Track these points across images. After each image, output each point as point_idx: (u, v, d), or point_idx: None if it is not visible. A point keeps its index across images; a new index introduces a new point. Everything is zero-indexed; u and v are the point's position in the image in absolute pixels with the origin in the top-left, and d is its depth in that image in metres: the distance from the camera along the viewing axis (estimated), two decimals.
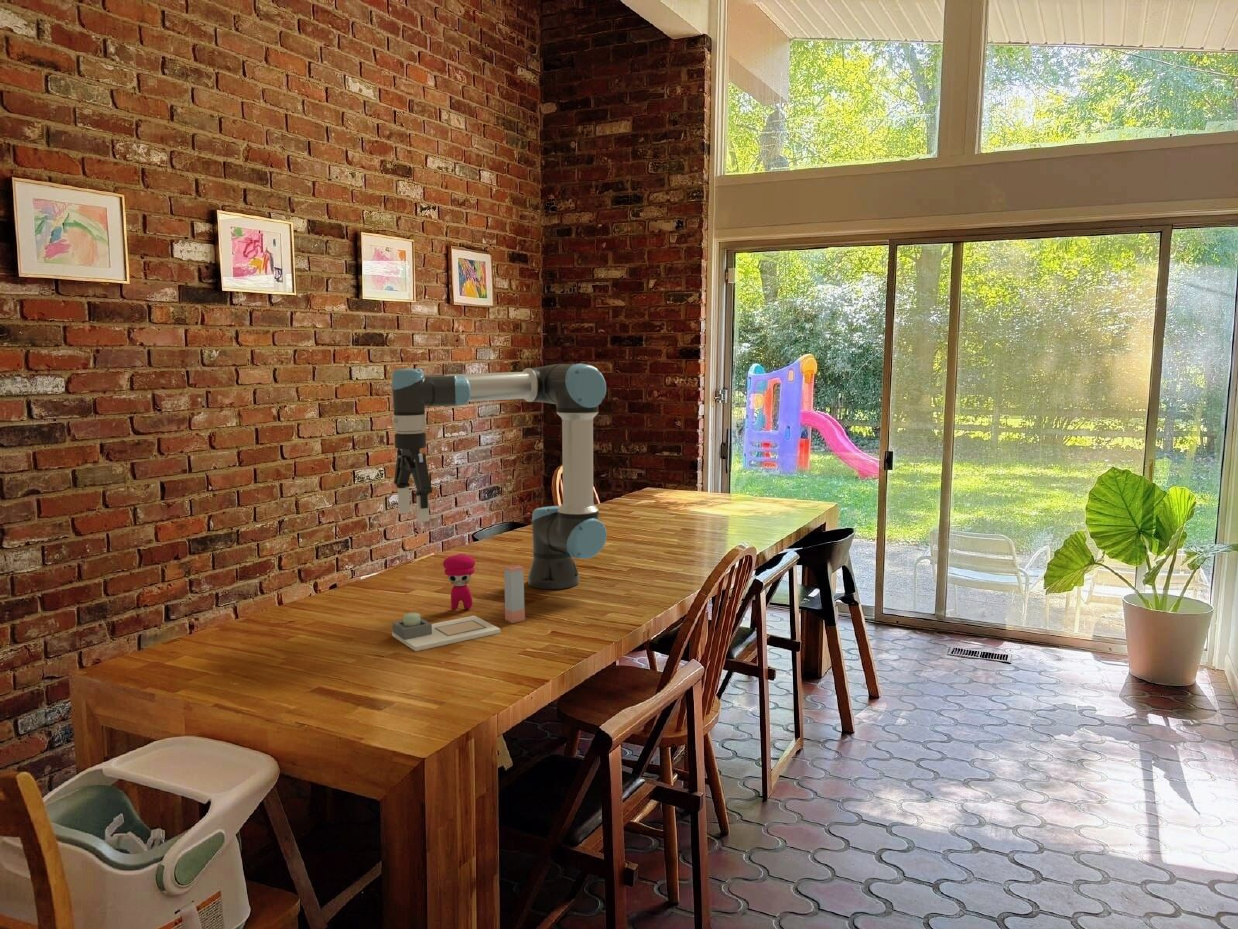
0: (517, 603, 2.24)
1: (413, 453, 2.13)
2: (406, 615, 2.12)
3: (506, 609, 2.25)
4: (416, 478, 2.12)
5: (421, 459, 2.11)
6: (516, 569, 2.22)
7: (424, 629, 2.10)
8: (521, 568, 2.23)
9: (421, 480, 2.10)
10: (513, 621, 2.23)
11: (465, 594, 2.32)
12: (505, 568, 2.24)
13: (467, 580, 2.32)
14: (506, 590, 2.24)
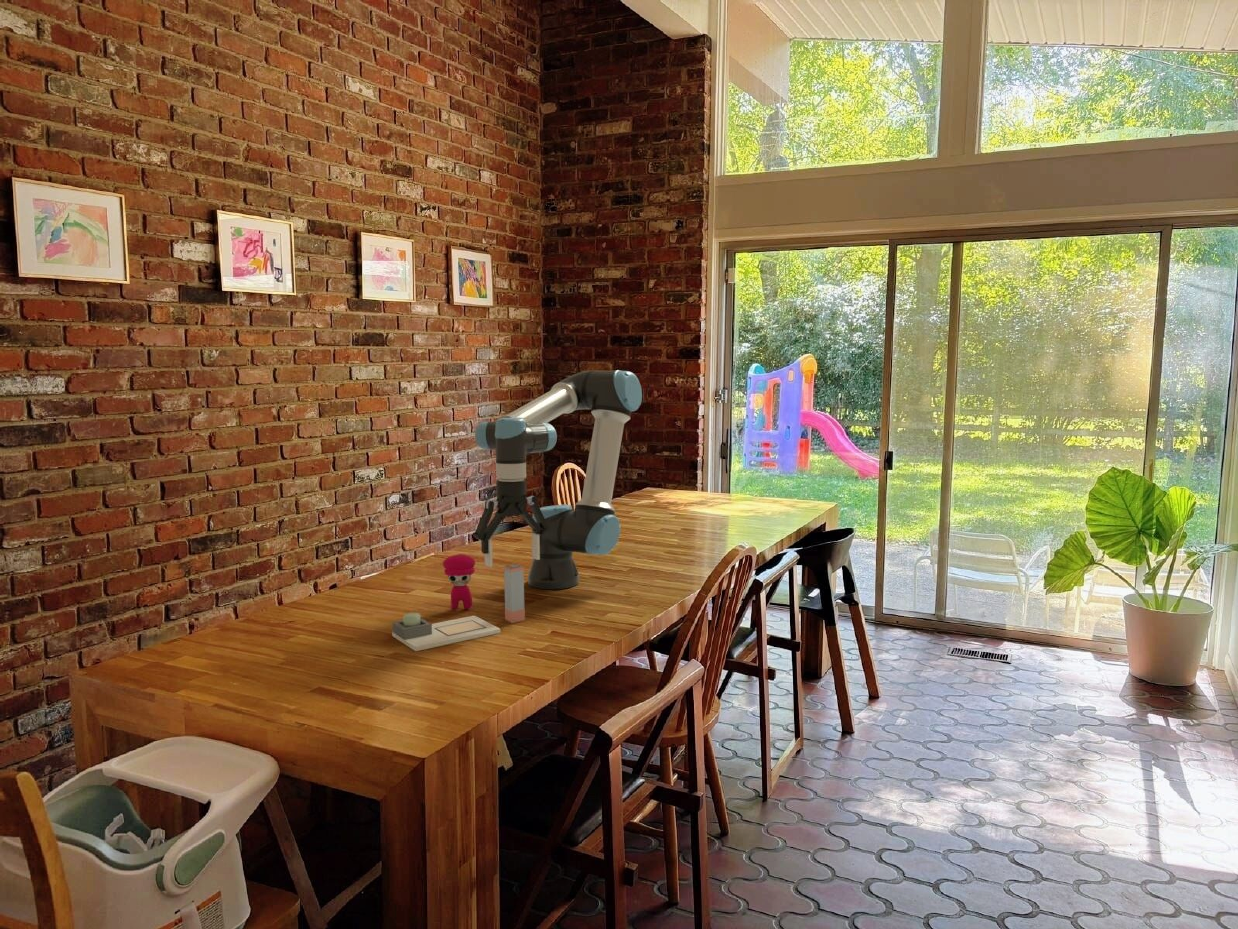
0: (517, 603, 2.24)
1: None
2: (406, 615, 2.12)
3: (506, 609, 2.25)
4: (490, 523, 2.20)
5: (487, 506, 2.18)
6: (516, 569, 2.22)
7: (424, 629, 2.10)
8: (521, 568, 2.23)
9: (478, 525, 2.18)
10: (513, 621, 2.23)
11: (465, 594, 2.32)
12: (505, 568, 2.24)
13: (467, 580, 2.32)
14: (506, 590, 2.24)
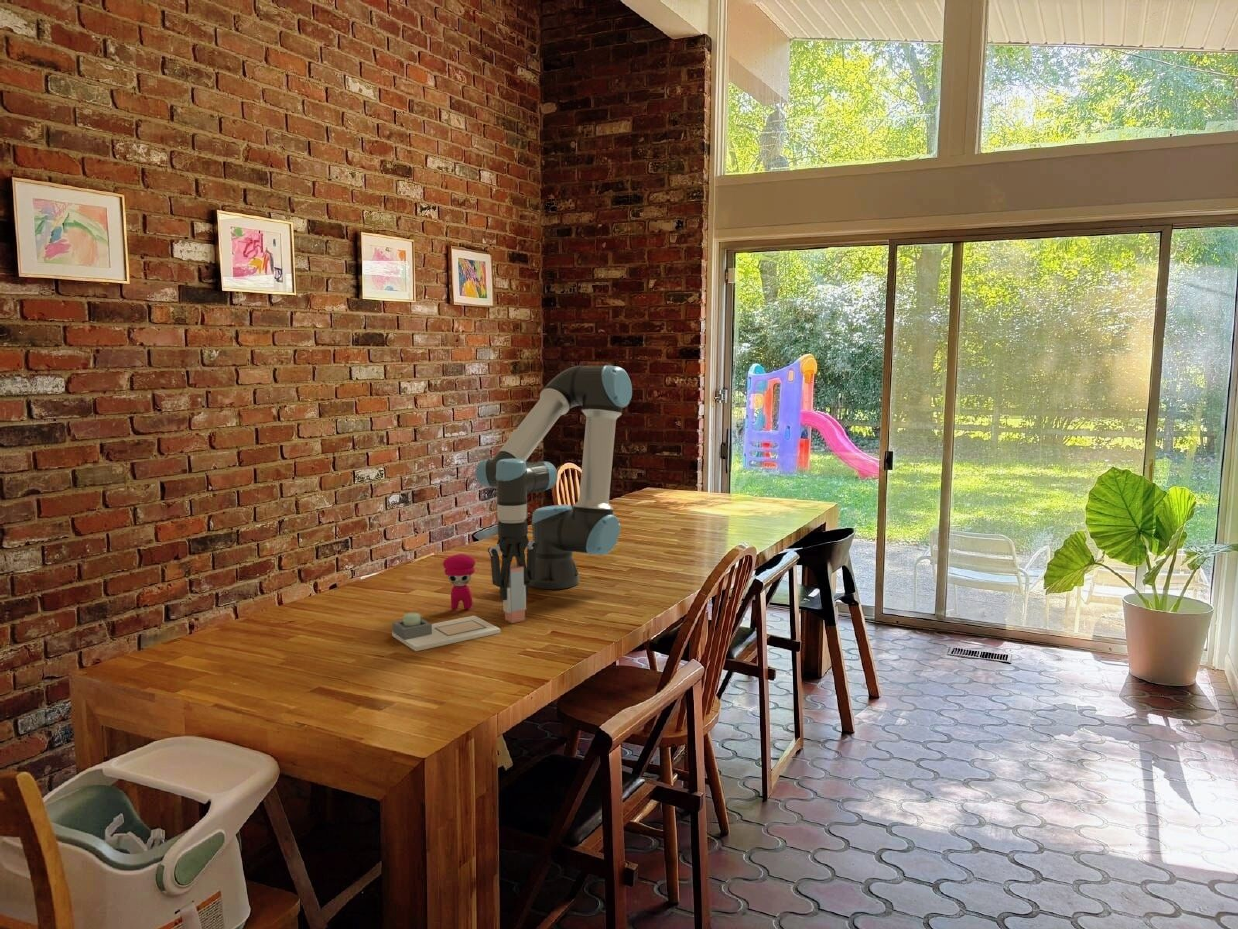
0: (517, 603, 2.24)
1: (497, 542, 2.21)
2: (406, 615, 2.12)
3: None
4: (501, 569, 2.23)
5: (491, 554, 2.20)
6: (516, 569, 2.22)
7: (424, 629, 2.10)
8: (521, 568, 2.23)
9: (492, 573, 2.21)
10: (513, 621, 2.23)
11: (465, 594, 2.32)
12: None
13: (467, 580, 2.32)
14: None
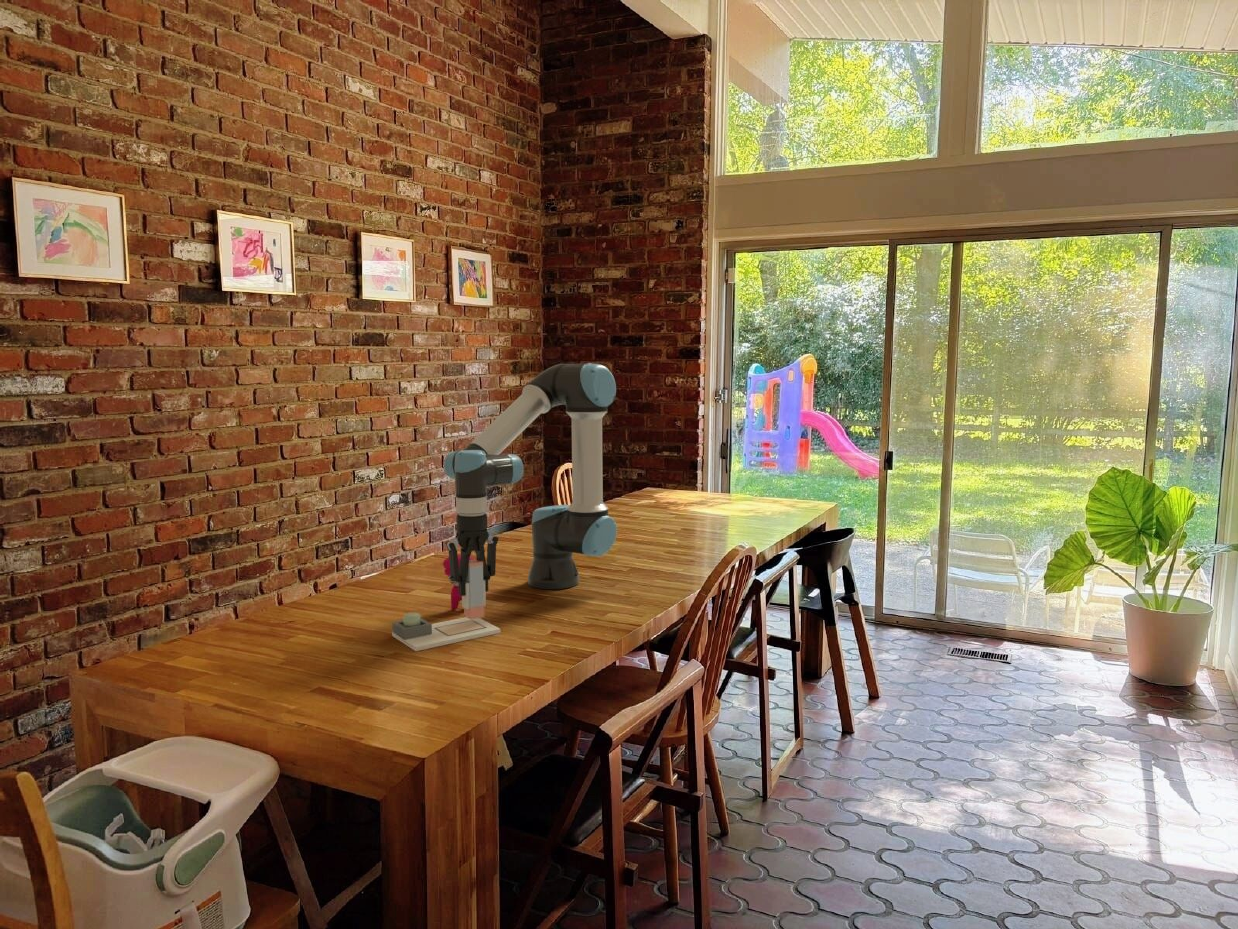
0: (477, 599, 2.17)
1: None
2: (406, 615, 2.12)
3: None
4: (460, 563, 2.17)
5: (449, 548, 2.13)
6: (475, 564, 2.16)
7: (424, 629, 2.10)
8: (480, 563, 2.17)
9: (450, 568, 2.15)
10: (472, 617, 2.17)
11: None
12: None
13: None
14: None
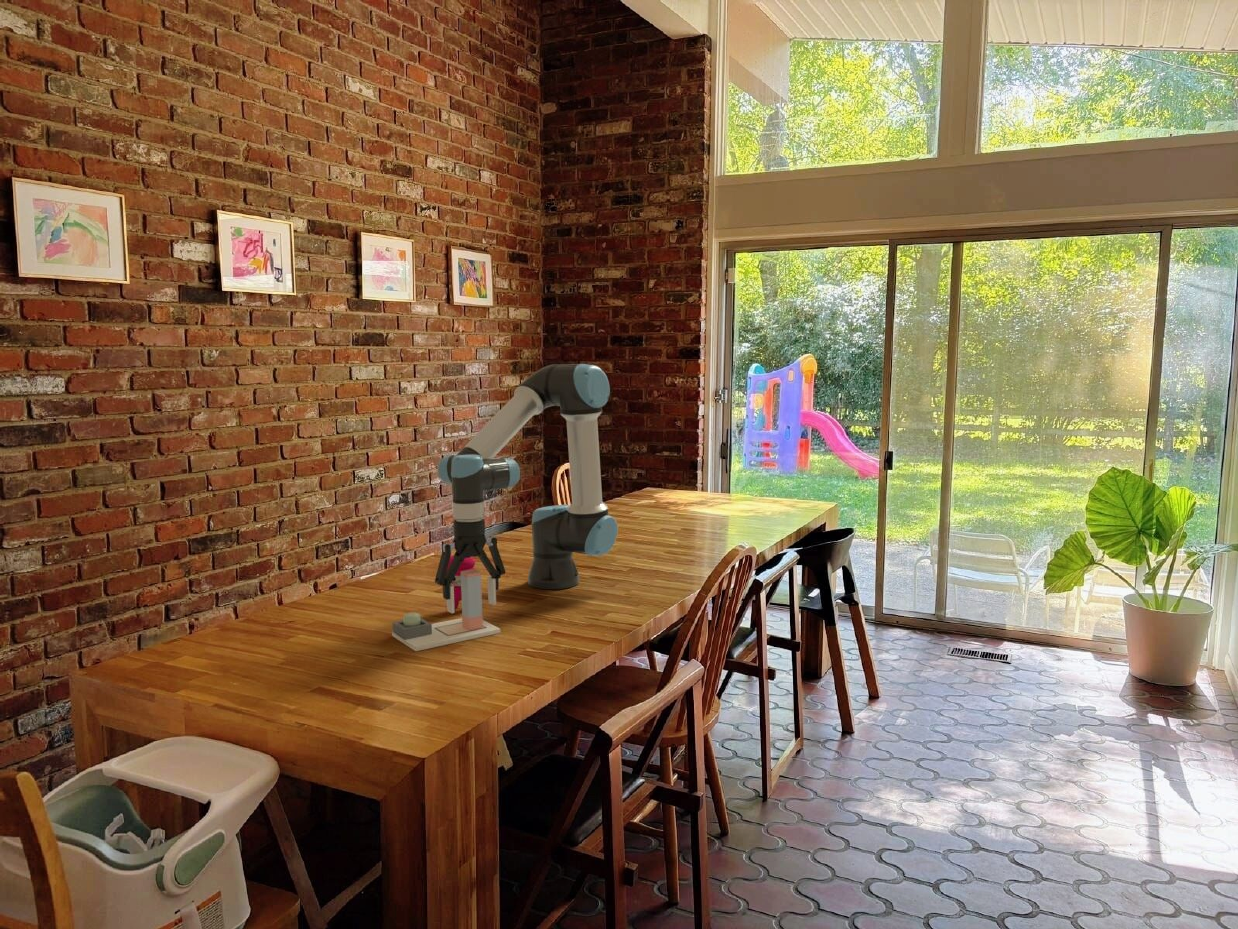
0: (475, 610, 2.14)
1: None
2: (406, 615, 2.12)
3: (463, 616, 2.16)
4: (449, 567, 2.12)
5: (444, 549, 2.10)
6: (473, 574, 2.13)
7: (424, 629, 2.10)
8: (478, 573, 2.14)
9: (438, 570, 2.10)
10: (470, 628, 2.14)
11: None
12: (462, 574, 2.14)
13: None
14: (463, 596, 2.15)
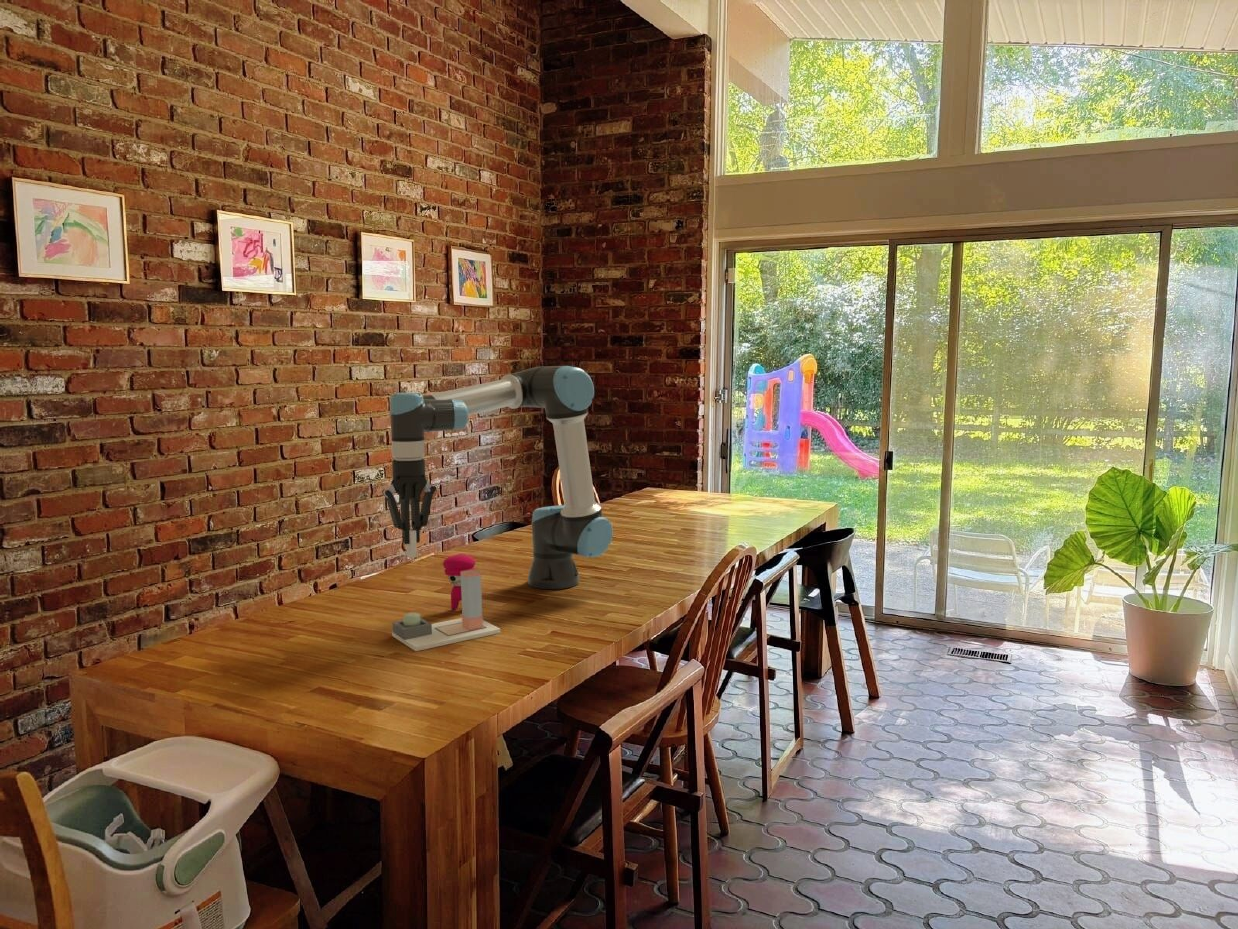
0: (475, 610, 2.14)
1: (391, 483, 2.06)
2: (406, 615, 2.12)
3: (463, 616, 2.16)
4: (401, 511, 2.08)
5: (386, 496, 2.05)
6: (473, 574, 2.13)
7: (424, 629, 2.10)
8: (478, 573, 2.14)
9: (391, 516, 2.07)
10: (470, 628, 2.14)
11: None
12: (462, 574, 2.14)
13: None
14: (463, 596, 2.15)
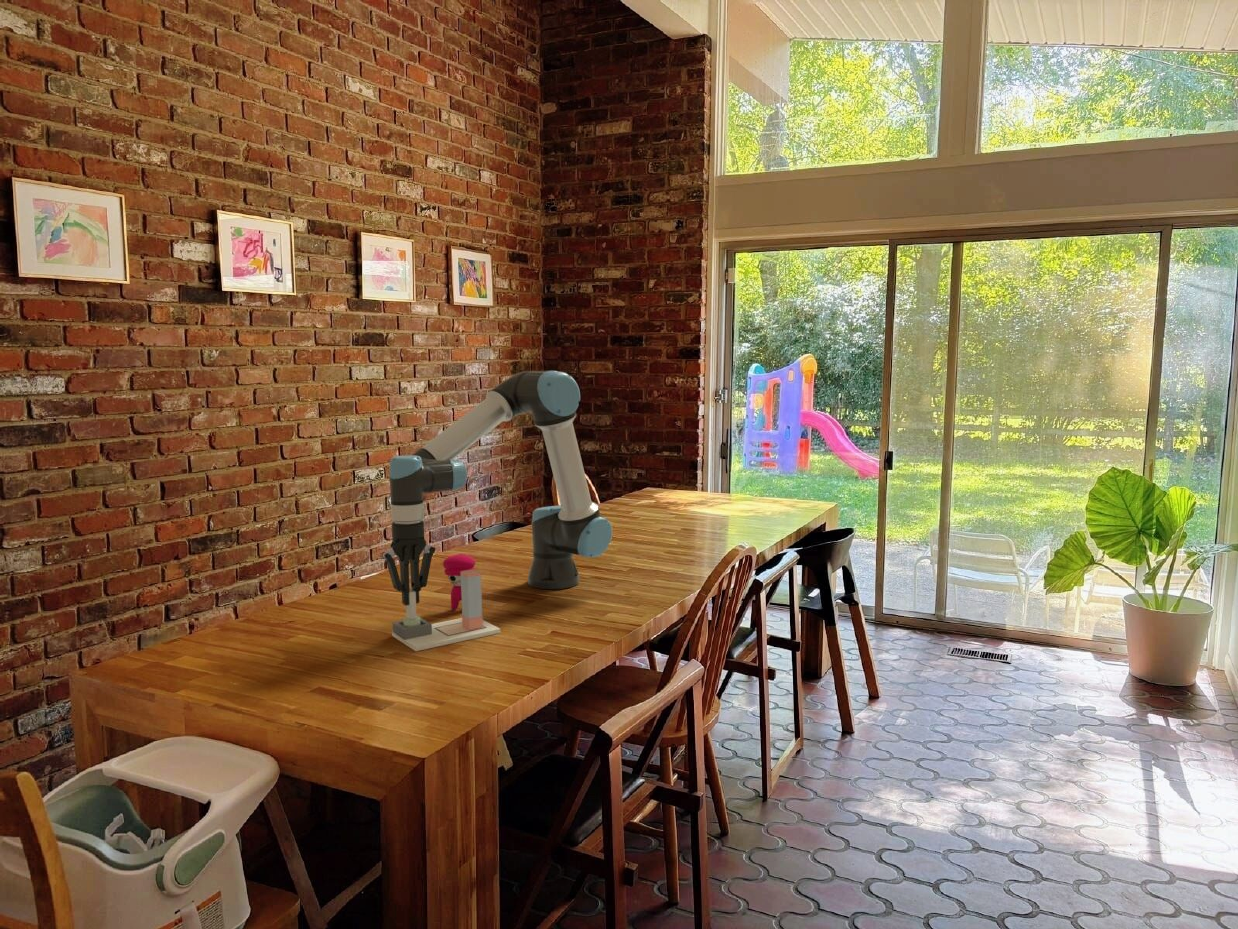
0: (475, 610, 2.14)
1: None
2: (406, 618, 2.12)
3: (463, 616, 2.16)
4: (400, 573, 2.10)
5: (385, 559, 2.07)
6: (473, 574, 2.13)
7: (424, 629, 2.10)
8: (478, 573, 2.14)
9: (391, 578, 2.09)
10: (470, 628, 2.14)
11: None
12: (462, 574, 2.14)
13: None
14: (463, 596, 2.15)
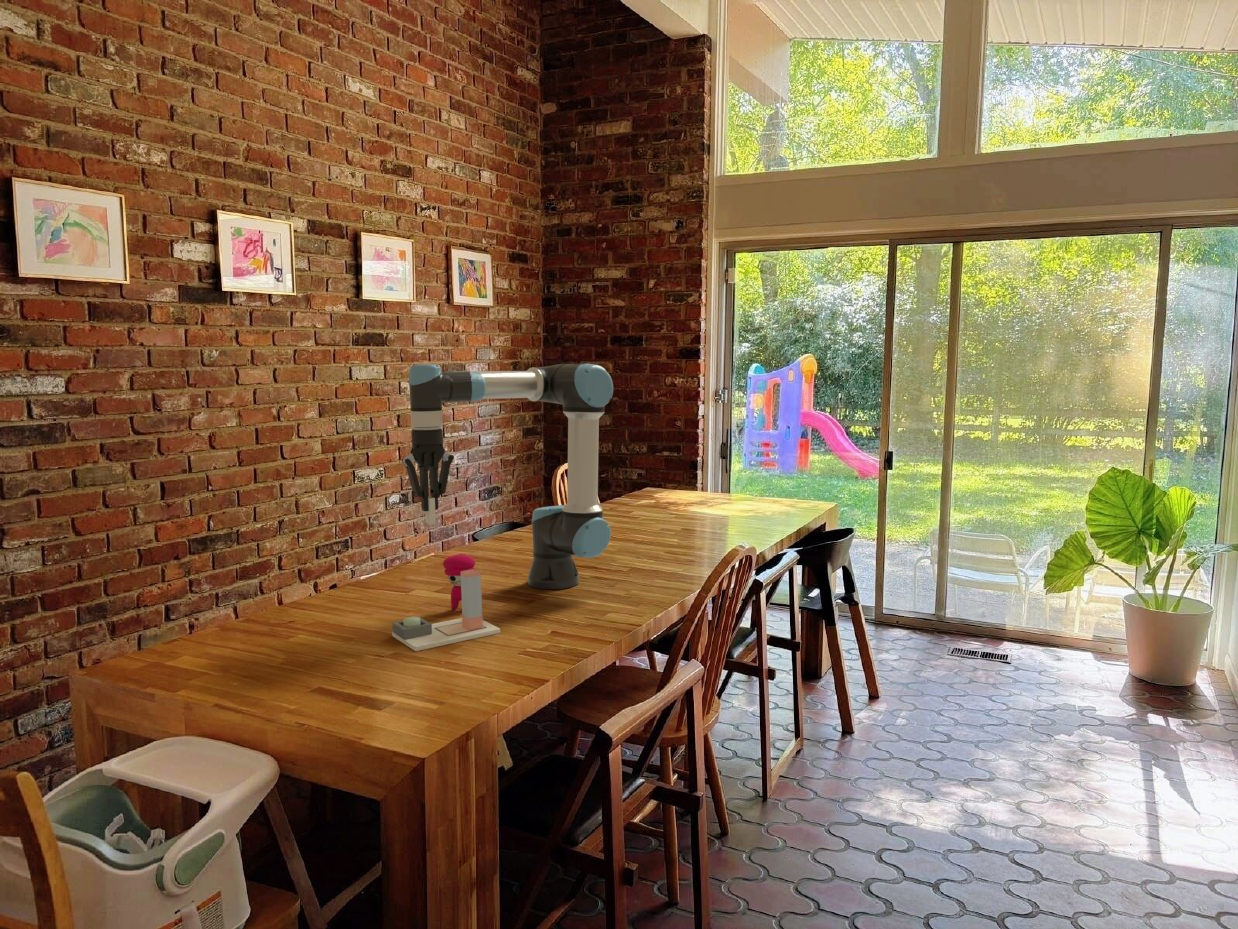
0: (475, 610, 2.14)
1: (410, 452, 2.13)
2: (406, 619, 2.12)
3: (463, 616, 2.16)
4: (420, 479, 2.15)
5: (406, 464, 2.12)
6: (473, 574, 2.13)
7: (424, 629, 2.10)
8: (478, 573, 2.14)
9: (411, 484, 2.14)
10: (470, 628, 2.14)
11: None
12: (462, 574, 2.14)
13: None
14: (463, 596, 2.15)
